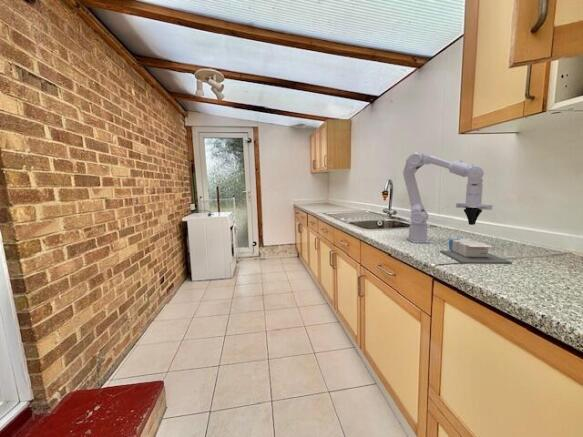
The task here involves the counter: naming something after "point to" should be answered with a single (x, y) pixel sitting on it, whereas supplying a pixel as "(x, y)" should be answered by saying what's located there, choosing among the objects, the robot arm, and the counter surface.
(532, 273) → the counter surface
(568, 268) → the counter surface
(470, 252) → the ink box
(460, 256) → the mat
